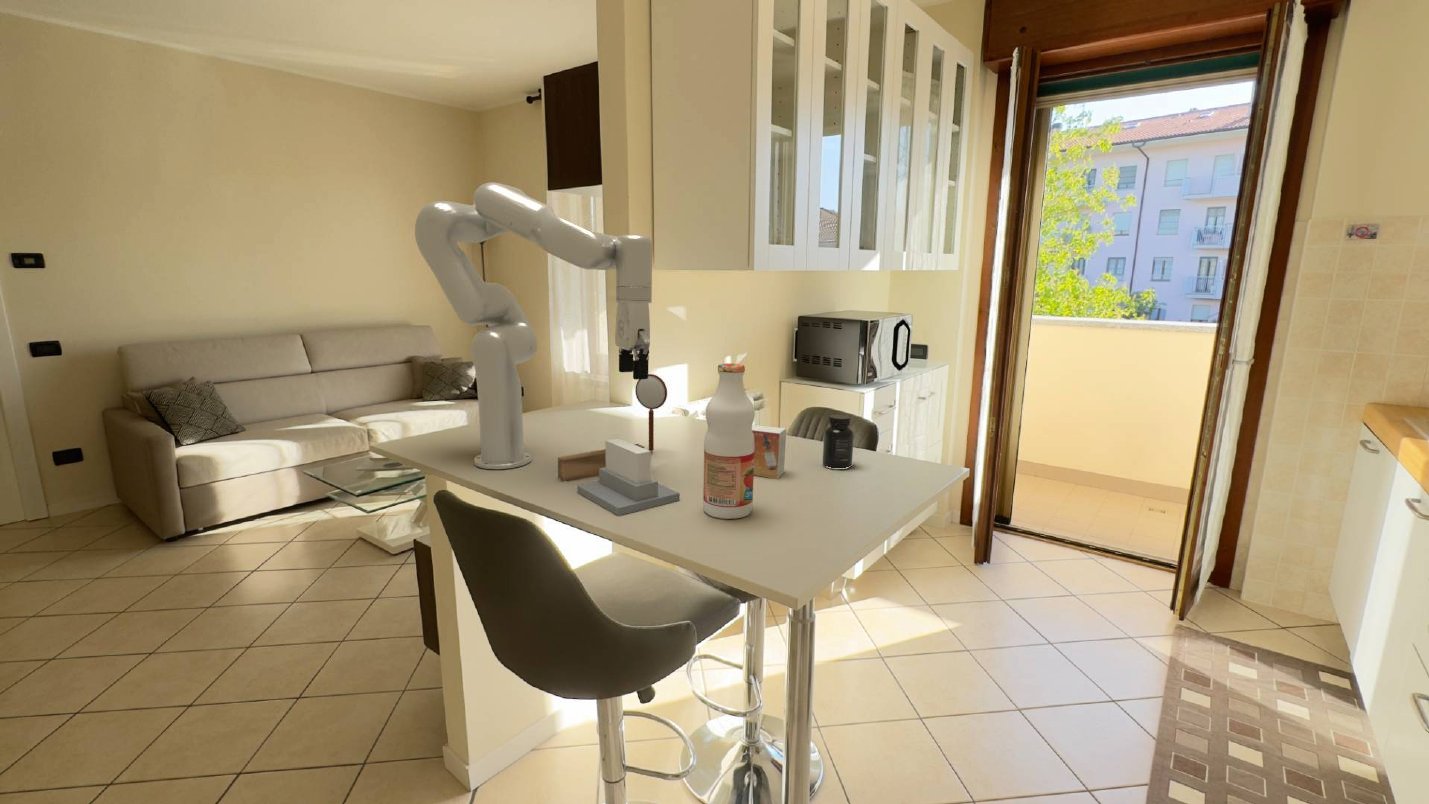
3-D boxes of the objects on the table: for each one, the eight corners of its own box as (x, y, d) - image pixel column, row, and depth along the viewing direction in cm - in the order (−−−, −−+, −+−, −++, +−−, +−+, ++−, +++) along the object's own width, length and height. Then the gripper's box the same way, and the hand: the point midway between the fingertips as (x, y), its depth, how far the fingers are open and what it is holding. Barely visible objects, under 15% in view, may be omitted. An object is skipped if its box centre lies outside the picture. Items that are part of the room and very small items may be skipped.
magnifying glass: (668, 455, 159) (668, 375, 155) (664, 457, 157) (665, 376, 153) (637, 450, 162) (637, 372, 158) (634, 452, 161) (634, 373, 157)
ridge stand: (577, 492, 131) (576, 442, 129) (635, 479, 140) (635, 432, 138) (618, 515, 119) (617, 461, 117) (679, 500, 128) (680, 449, 126)
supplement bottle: (855, 465, 154) (859, 416, 151) (845, 472, 148) (848, 421, 146) (829, 460, 157) (831, 412, 155) (817, 467, 152) (820, 417, 149)
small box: (743, 474, 145) (744, 429, 143) (751, 467, 150) (753, 423, 148) (777, 479, 142) (779, 433, 140) (784, 472, 147) (786, 427, 145)
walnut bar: (558, 479, 140) (557, 457, 139) (637, 464, 152) (637, 443, 151) (564, 483, 137) (563, 460, 136) (644, 467, 150) (644, 446, 149)
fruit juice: (698, 503, 126) (700, 361, 120) (744, 501, 128) (749, 361, 123) (708, 521, 117) (711, 369, 111) (758, 518, 119) (763, 368, 114)
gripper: (604, 293, 142) (604, 370, 146) (629, 297, 127) (629, 382, 130) (637, 293, 145) (636, 368, 149) (665, 297, 130) (663, 381, 134)
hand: (633, 375), depth 140 cm, fingers open, 9 cm apart
